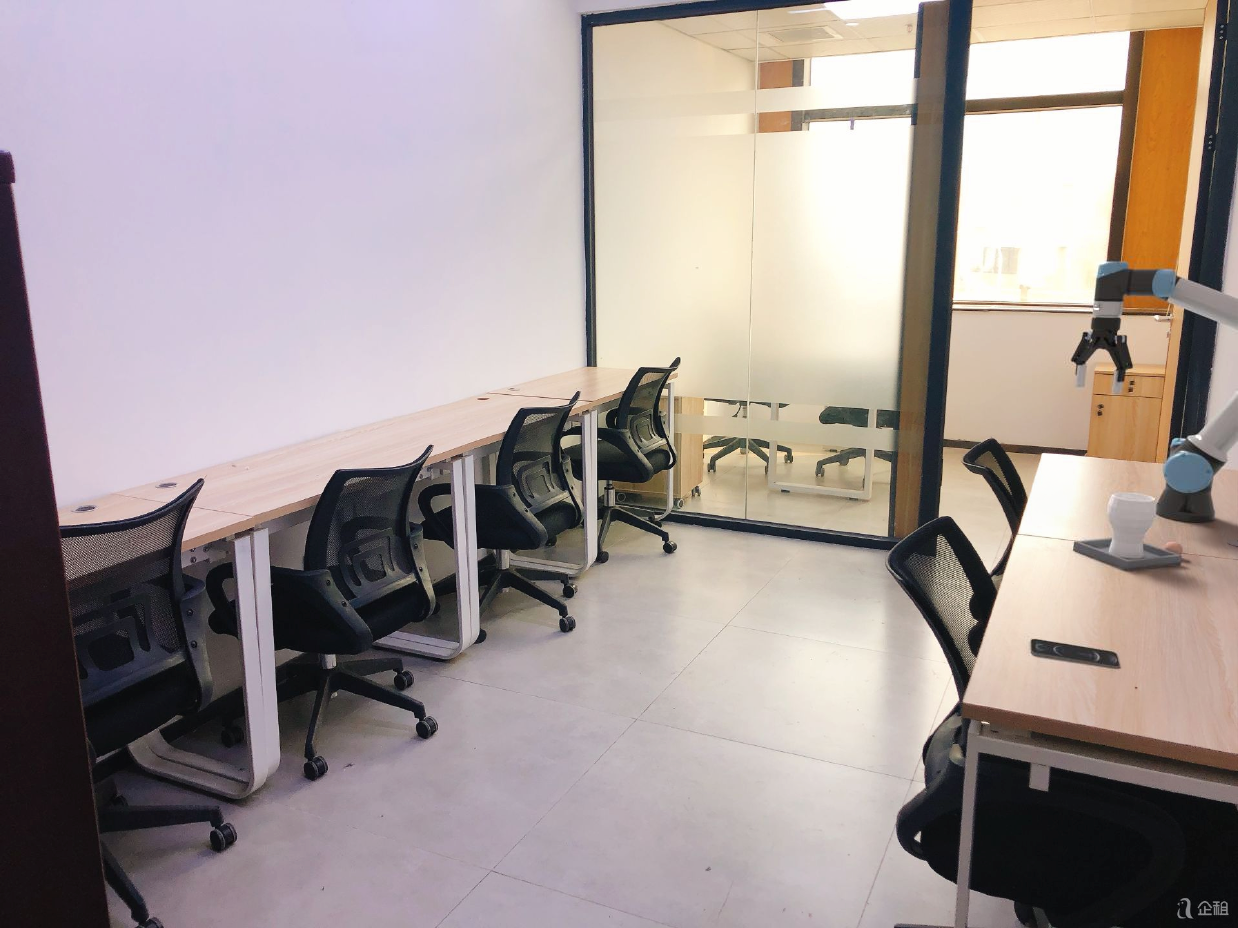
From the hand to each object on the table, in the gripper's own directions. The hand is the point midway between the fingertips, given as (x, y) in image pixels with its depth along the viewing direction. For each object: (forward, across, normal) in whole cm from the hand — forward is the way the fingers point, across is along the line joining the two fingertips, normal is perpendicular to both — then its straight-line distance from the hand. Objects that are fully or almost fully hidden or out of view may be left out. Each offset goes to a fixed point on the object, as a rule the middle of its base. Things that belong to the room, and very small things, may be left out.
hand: (1097, 390), depth 269 cm
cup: (+36, +39, -24) cm, 58 cm away
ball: (+37, +42, -12) cm, 57 cm away
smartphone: (+37, +84, -82) cm, 123 cm away
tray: (+37, +39, -24) cm, 59 cm away
